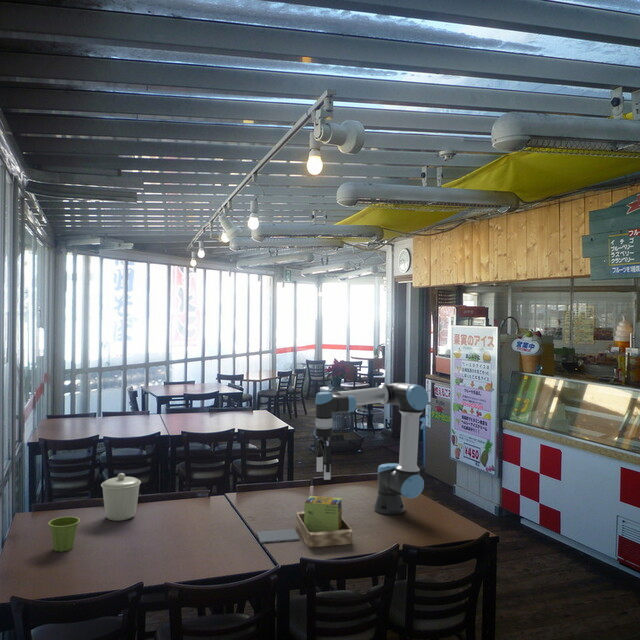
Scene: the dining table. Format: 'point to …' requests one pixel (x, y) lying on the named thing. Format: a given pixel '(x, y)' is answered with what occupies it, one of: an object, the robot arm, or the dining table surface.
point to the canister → (120, 497)
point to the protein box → (323, 514)
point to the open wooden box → (323, 534)
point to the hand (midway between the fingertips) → (323, 475)
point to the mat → (278, 535)
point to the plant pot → (63, 532)
